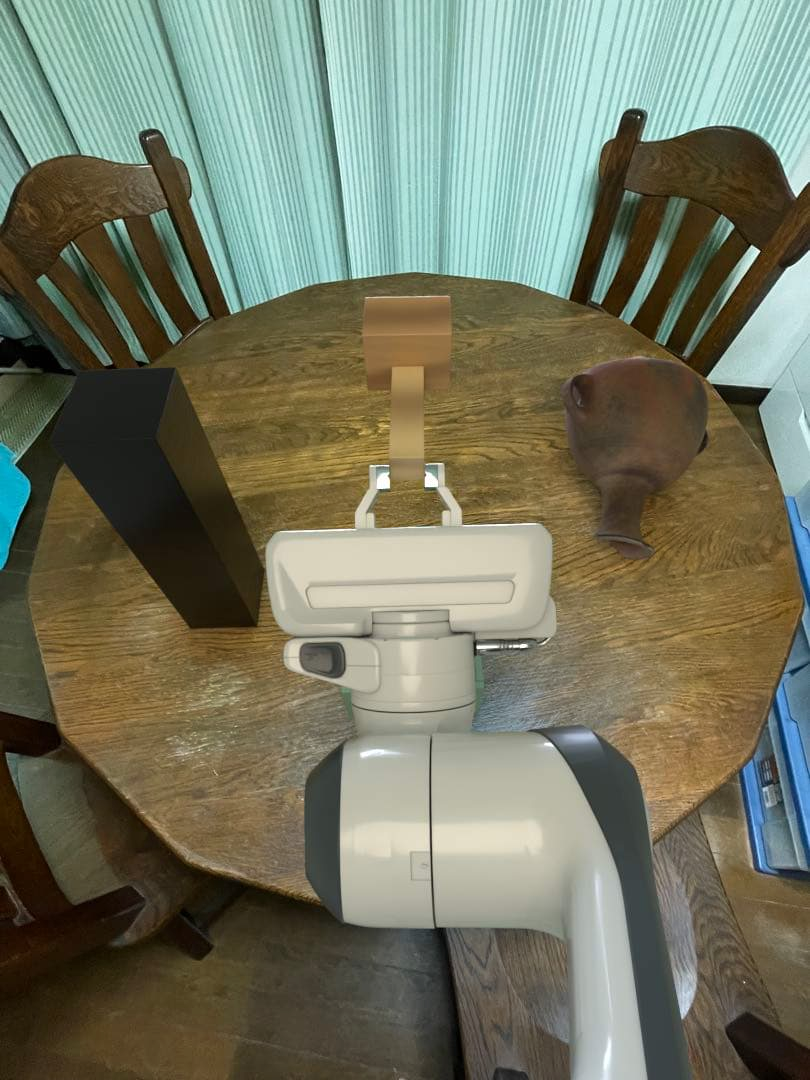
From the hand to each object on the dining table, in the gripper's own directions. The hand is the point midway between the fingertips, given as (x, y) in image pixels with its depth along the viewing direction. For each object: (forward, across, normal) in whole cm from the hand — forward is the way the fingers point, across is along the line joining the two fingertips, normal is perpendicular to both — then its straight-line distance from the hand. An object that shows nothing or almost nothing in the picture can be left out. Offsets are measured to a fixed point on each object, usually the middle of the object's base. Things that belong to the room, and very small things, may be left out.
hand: (406, 465), depth 43 cm
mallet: (+5, 0, +5) cm, 7 cm away
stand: (-10, +26, +39) cm, 48 cm away
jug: (+4, -31, +48) cm, 57 cm away
